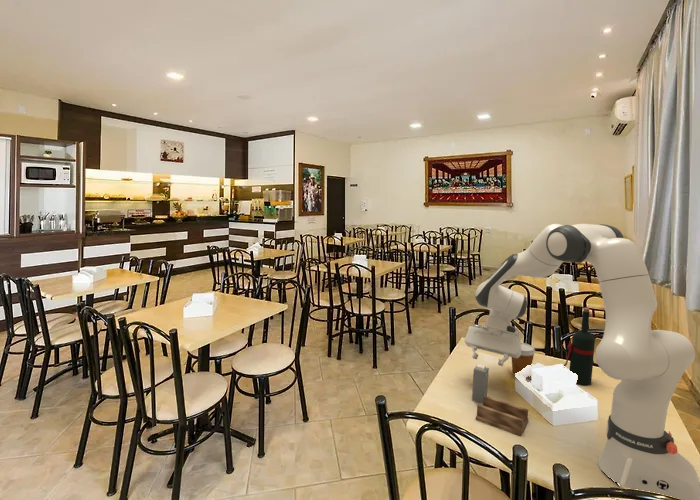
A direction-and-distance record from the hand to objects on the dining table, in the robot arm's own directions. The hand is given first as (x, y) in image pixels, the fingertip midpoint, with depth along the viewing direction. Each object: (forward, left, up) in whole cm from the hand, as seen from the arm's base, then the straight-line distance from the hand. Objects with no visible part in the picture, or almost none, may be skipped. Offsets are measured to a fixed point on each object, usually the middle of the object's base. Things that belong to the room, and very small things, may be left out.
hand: (487, 361), depth 138 cm
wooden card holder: (-10, +14, -12) cm, 21 cm away
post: (0, +6, -12) cm, 14 cm away
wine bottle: (-26, -32, -12) cm, 43 cm away
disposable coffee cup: (-7, -24, -12) cm, 28 cm away
